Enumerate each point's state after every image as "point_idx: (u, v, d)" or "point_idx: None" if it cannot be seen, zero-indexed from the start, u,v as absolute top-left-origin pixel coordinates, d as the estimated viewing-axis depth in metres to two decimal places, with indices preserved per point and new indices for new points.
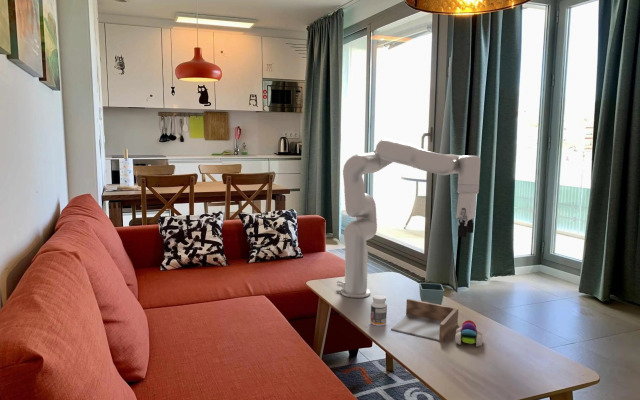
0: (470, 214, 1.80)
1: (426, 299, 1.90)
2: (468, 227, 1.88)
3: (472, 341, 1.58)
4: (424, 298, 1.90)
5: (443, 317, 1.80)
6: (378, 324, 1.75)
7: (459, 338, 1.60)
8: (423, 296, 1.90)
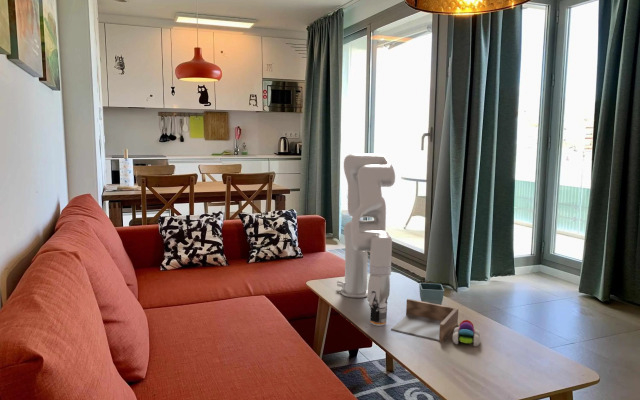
0: (381, 297, 1.73)
1: (426, 299, 1.90)
2: None
3: (469, 341, 1.58)
4: (424, 298, 1.90)
5: (443, 317, 1.80)
6: (378, 324, 1.75)
7: (456, 338, 1.60)
8: (423, 296, 1.90)
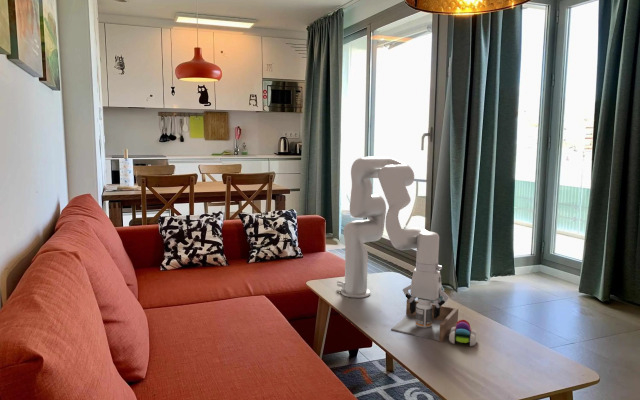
0: (414, 291, 1.74)
1: None
2: None
3: (466, 340, 1.59)
4: None
5: (443, 317, 1.80)
6: (415, 322, 1.76)
7: (453, 337, 1.60)
8: None
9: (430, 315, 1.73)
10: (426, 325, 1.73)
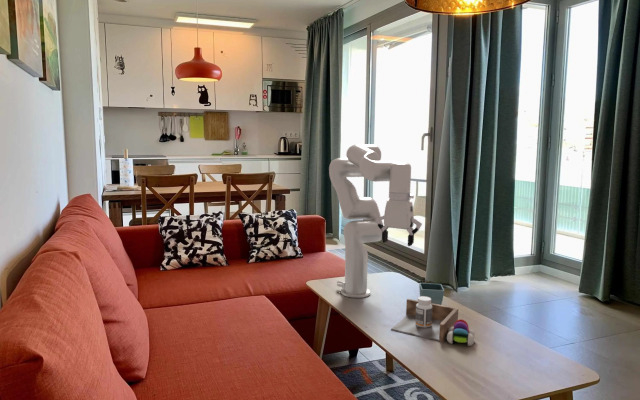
0: (387, 221, 1.79)
1: None
2: None
3: (464, 340, 1.59)
4: None
5: (443, 317, 1.80)
6: (415, 322, 1.76)
7: (451, 337, 1.61)
8: None
9: (430, 315, 1.73)
10: (426, 325, 1.73)
